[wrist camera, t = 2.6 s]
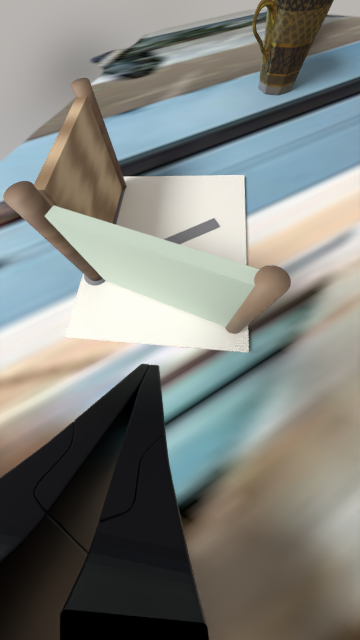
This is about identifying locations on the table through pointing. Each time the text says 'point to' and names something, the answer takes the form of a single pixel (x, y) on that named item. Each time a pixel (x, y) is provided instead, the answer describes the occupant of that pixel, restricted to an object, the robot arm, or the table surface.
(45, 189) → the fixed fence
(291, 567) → the table surface
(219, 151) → the table surface
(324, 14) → the ceramic cup
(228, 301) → the folding panel
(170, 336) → the card
